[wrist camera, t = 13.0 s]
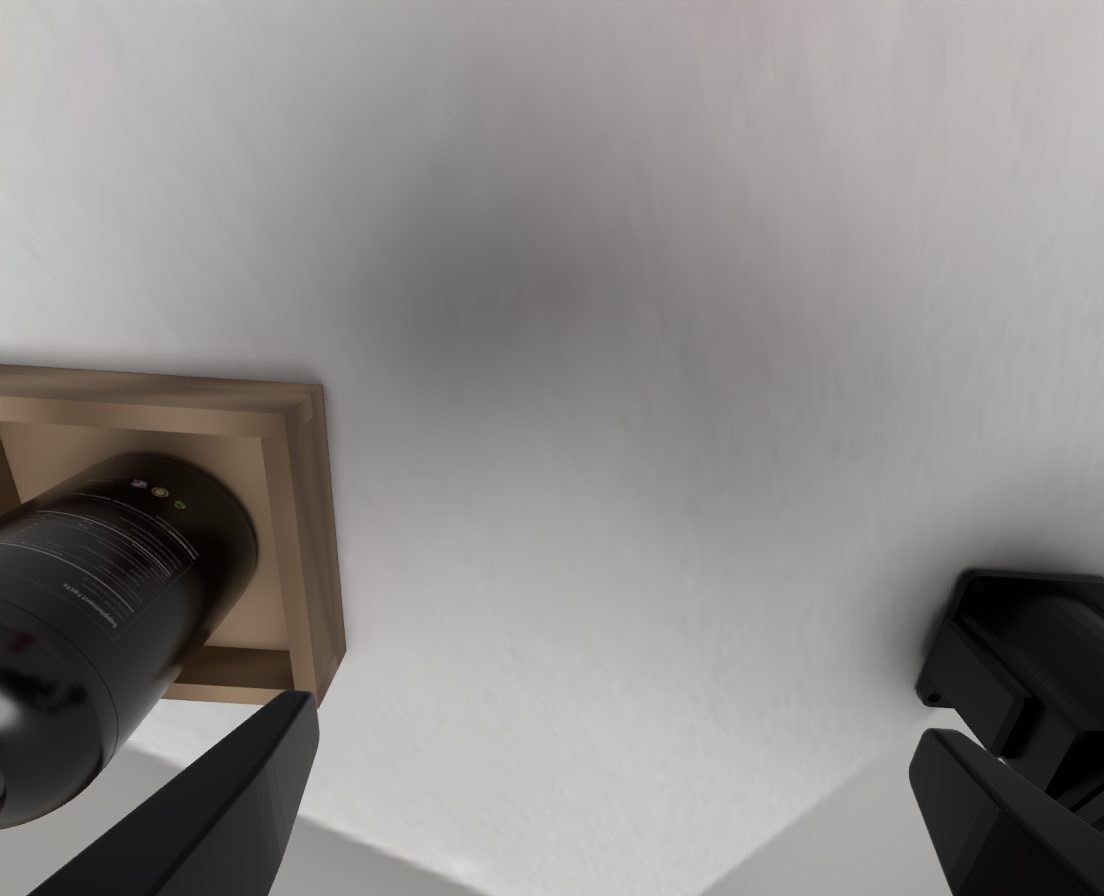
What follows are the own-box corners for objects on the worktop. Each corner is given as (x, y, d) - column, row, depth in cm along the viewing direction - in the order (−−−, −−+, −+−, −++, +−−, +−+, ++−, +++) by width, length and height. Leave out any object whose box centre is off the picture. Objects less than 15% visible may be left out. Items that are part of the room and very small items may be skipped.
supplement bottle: (227, 638, 23) (-76, 1030, 12) (53, 559, 22) (-461, 918, 11) (293, 507, 21) (-7, 846, 10) (102, 411, 20) (-483, 676, 9)
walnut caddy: (321, 385, 20) (284, 414, 18) (346, 651, 25) (318, 708, 22) (-18, 363, 20) (-109, 388, 18) (67, 634, 25) (5, 689, 22)
